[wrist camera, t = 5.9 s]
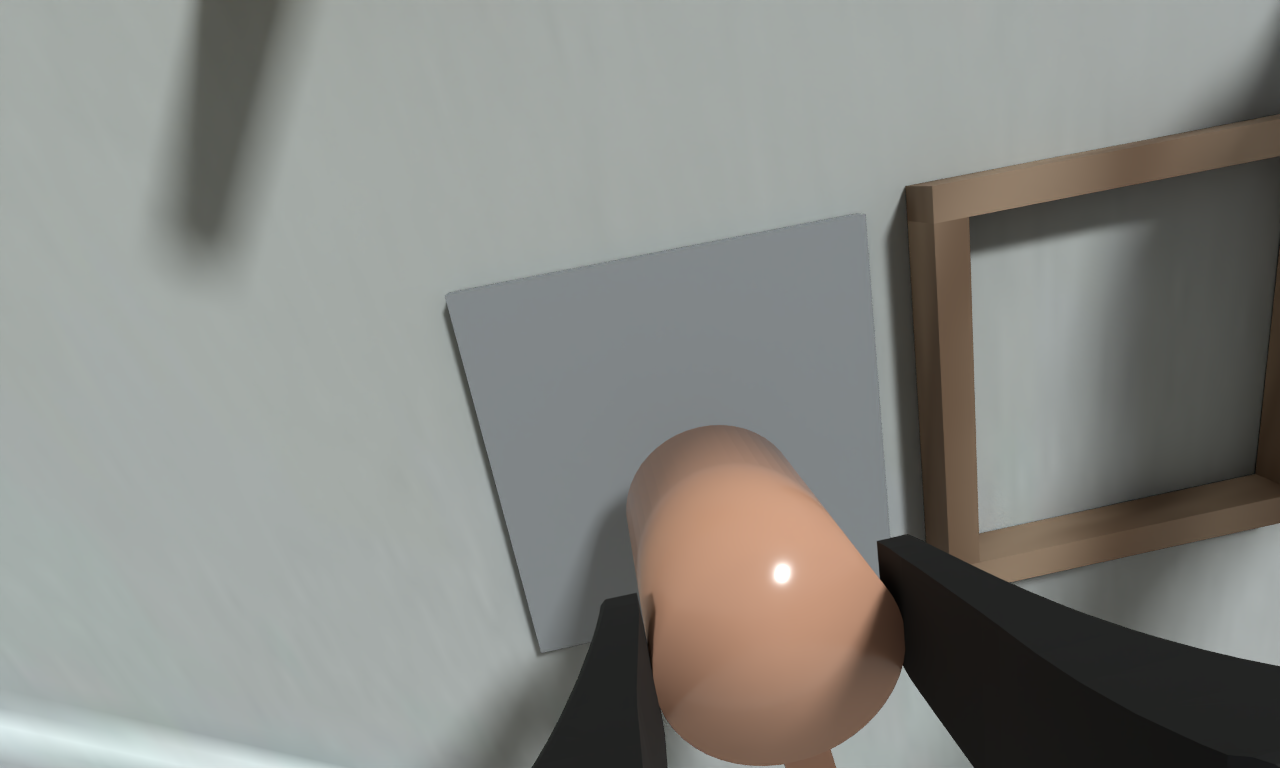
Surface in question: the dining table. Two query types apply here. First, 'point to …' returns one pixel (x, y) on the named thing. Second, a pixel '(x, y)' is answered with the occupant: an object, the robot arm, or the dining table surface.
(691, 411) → the grey mat
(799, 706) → the peach rounded block
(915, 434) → the dining table surface
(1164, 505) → the frame
